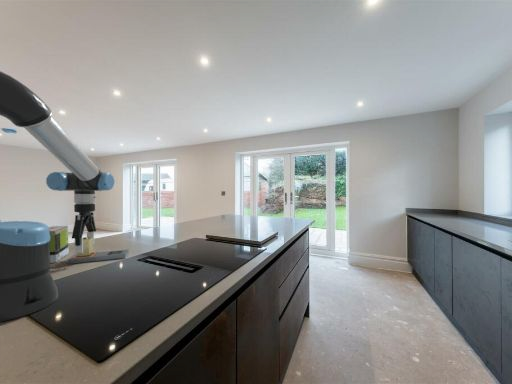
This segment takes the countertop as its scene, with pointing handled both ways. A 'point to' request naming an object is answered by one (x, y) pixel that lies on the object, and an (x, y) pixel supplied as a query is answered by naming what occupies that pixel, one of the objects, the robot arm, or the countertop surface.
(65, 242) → the tea box
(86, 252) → the brass block with knob
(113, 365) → the countertop surface
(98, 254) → the plate with square holes
